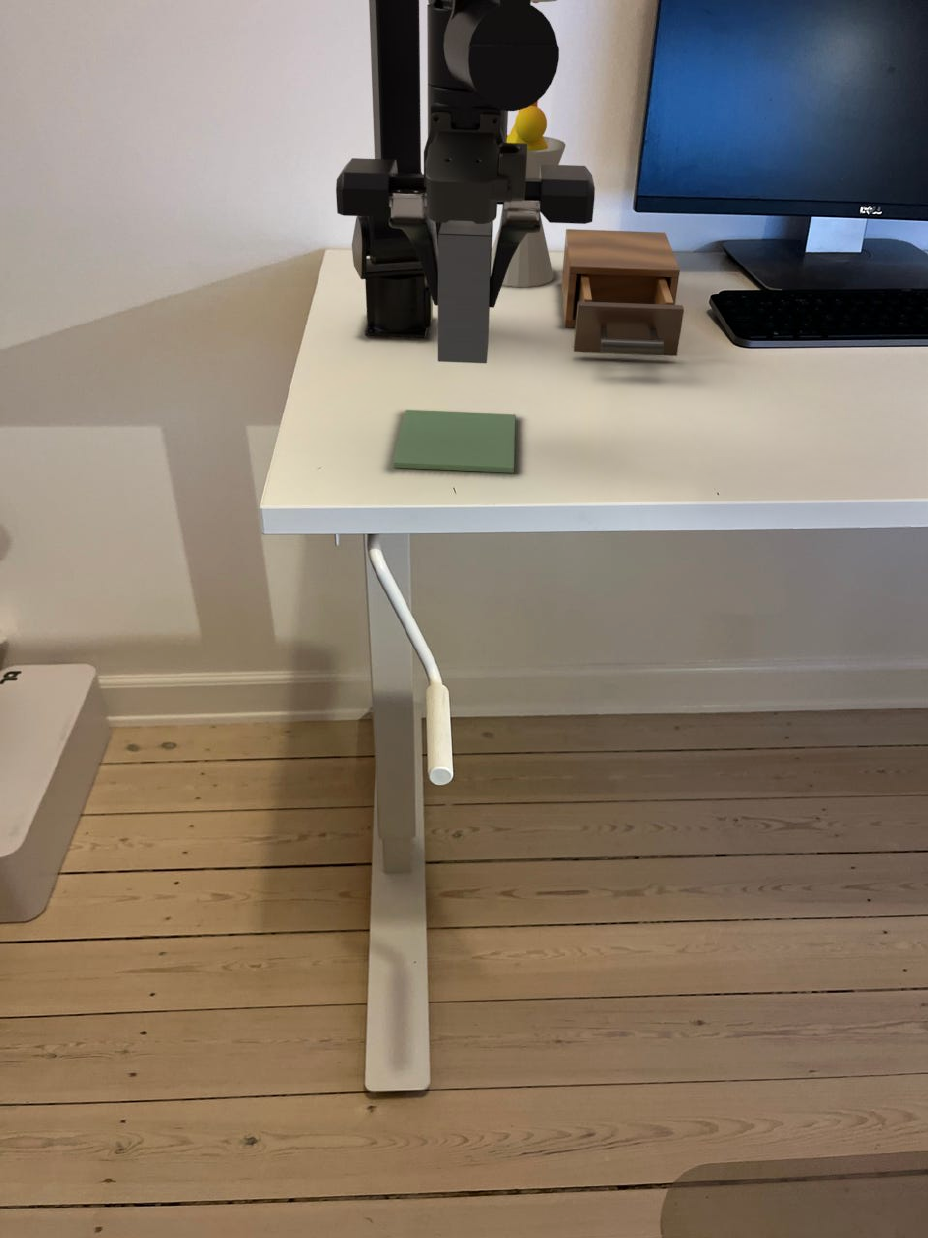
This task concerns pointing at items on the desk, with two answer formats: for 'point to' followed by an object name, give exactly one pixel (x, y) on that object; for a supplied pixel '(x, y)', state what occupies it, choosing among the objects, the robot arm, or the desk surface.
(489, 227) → the tall grey pillar
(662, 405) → the desk surface
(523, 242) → the lava lamp
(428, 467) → the mat
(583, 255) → the cabinet
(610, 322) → the drawer
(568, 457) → the desk surface
